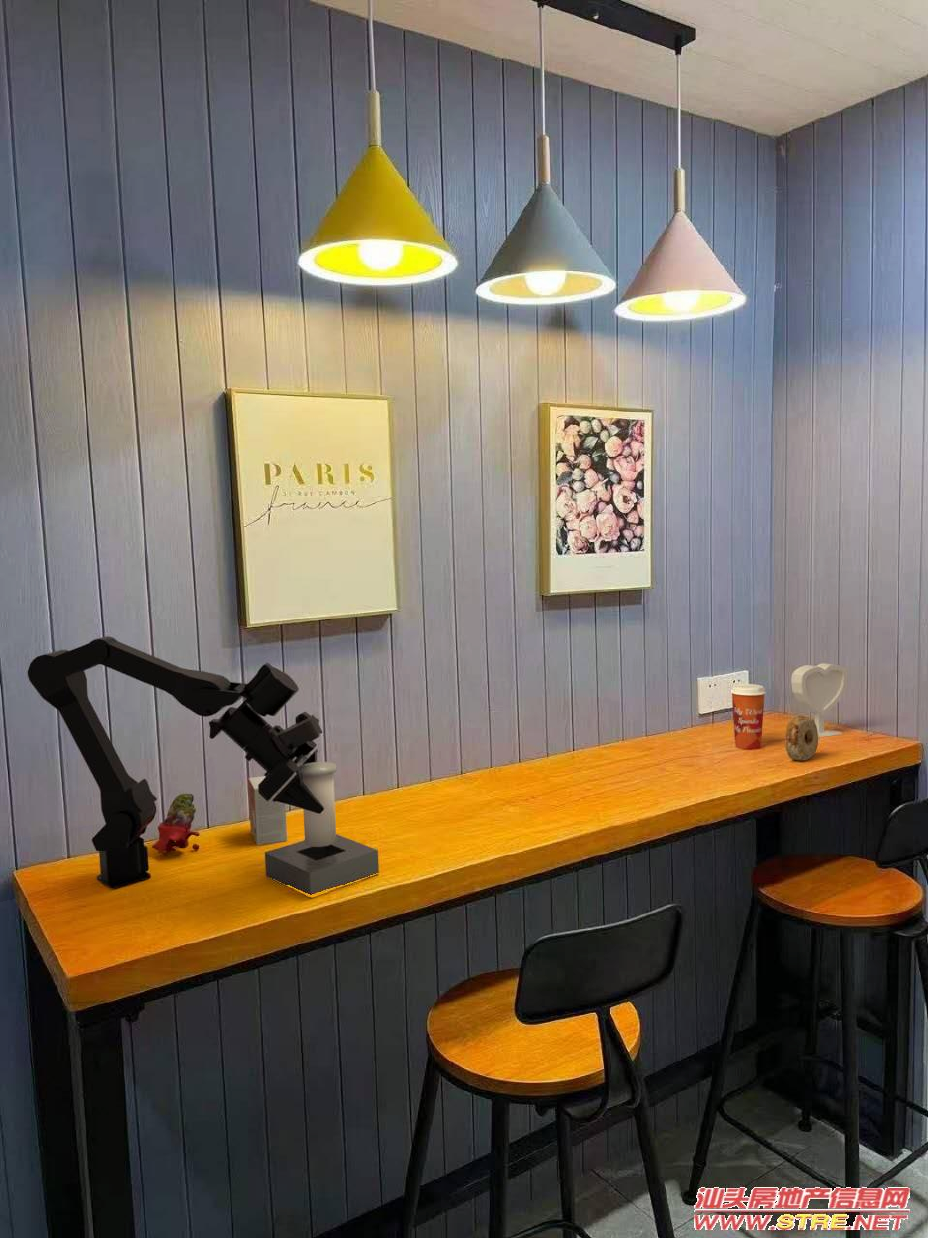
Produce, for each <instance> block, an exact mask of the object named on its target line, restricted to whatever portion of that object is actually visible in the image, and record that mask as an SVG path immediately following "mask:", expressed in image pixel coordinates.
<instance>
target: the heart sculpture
mask: <svg viewBox="0 0 928 1238" xmlns="http://www.w3.org/2000/svg"><path fill="white" fill-rule="evenodd" d="M847 682H848V671H847V669H846V668H845V667H844V666H841V665H838V664H831V663H825V662H823V663H819V664H817V665H810V664H805V665H802V666H800V667H798V668H796V669H795V670H794V671H793V672H792V673H791V681H790V683H791V691H792V694H793V695H794V698H795V700H796V701H797V702H798V703H799V704H800V705H801V706H802V707H804V708H806V709H807V711H809V712H811V713H812V714H813V715H814V716H813V720H814V721H815V724H816V727H817V731H818V739H819V737H820V738H825V737H831V736H838V735H842V734H844V733H843V732H841V731H839V730H832V729H825V716H826V715H827V714H828V713H829V712H830V711H832V710H833V708H834V707H835V706H836V705H837V704H838V703H839V702H840V701H841V699H842V697H843V696H844V695H845V691H846V689H847V685H848V684H847Z"/></svg>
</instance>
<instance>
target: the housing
mask: <svg viewBox="0 0 928 1238" xmlns="http://www.w3.org/2000/svg"><path fill="white" fill-rule="evenodd" d="M264 861H265V862H264V864H265V877H266V876H267V878H268V877H270V878H272V879H271V880H273V879H275V880H277V881H279V882H281V883H283V884H285V885H290V886H292V887H294V888H296V889H298V890H301V891H303V892H305V893H308V894H310V895H312V894H315V893H317V892H321V891H323V890H326V889H330V888H333V887H337V886H340V885H345V884H347V883H350V882H354V881H356V880H359V879H362V878H365V877H368V876H370V875H373V874H376V873H379V874H380V866H379V850H378V849H376V848H373V847H371V846H368V845H366V844H362V843H360V842H357V841H355V840H352V839H350V838H348V837H344V836H342V835H339V834H337V833H336V842H335V843H333V844H331V845H328V846H322V847H312V846H308V845H306V844H305V839H304V840H301V841H297V842H295V843H291V844H288V845H285V846H281V847H278V848H274V849H271V850H267V851H265V852H264ZM270 878H269V879H270ZM275 880H274V881H275ZM277 881H276V882H277ZM279 882H278V883H279ZM281 883H280V884H281ZM283 884H282V885H283ZM285 885H284V886H285Z"/></svg>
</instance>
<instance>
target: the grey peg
mask: <svg viewBox="0 0 928 1238" xmlns="http://www.w3.org/2000/svg"><path fill="white" fill-rule="evenodd" d="M301 769H302V774H303V782H304V784H305V785H306V786H307V787H308V789H309V790H310V791H311V792H312V793H313V795H314V796H315V797H316V798H317V800H318V801H319V802H320V803H321V805H322V806H323V807H324V810H323V811H322V812H321V813H320V814H318V813H315V812H312V811H308V810H305V809H302V810H303V828H304V829H303V830H304V840H305V844H306V845H308V846H312V847H322V846H328V845H331V844H333V843H335V842H336V834H337V828H336V827H337V825H336V823H337V821H336V804H335V801H336V800H335V784H334V783H335V780H334V774H335V773H336V772H337V764H336V763H334V762H331V761H330V762H329V761H317V762H313V763H307V764H303V765H301V766H299V767H298V772H299V771H300V770H301Z"/></svg>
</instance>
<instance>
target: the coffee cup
mask: <svg viewBox="0 0 928 1238" xmlns="http://www.w3.org/2000/svg"><path fill="white" fill-rule="evenodd" d="M765 690H766V688H765V687H764V686H763V685H761V684H760V685H759V684H756V683H755V684H754V683H740V684H739V683H738V684H734V685H733V686H732V689H731V690H730V693H731V702H732V715H733V716H732V717H733V732H734V746H735V748H736V747H737V748H736V749H739V748H740V750H746V751H747V750H748V751H750V750H751V751H754V750H759V749H761V748H762V737H763V734H762V733H763V723H764V720H763V719H764V706H765V705H764V703H765V694H767V691H765Z"/></svg>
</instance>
